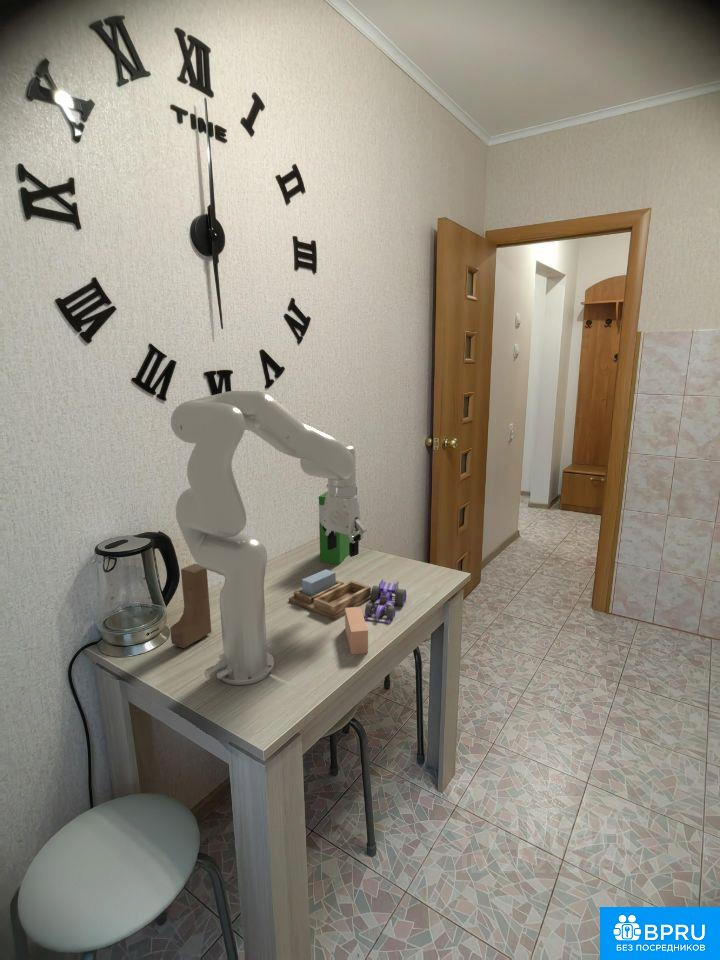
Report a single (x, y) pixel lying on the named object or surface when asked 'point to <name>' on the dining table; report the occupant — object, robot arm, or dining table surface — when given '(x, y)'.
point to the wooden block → (193, 608)
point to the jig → (334, 599)
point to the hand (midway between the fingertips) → (342, 551)
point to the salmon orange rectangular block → (356, 630)
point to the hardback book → (343, 540)
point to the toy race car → (384, 601)
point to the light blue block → (318, 582)
